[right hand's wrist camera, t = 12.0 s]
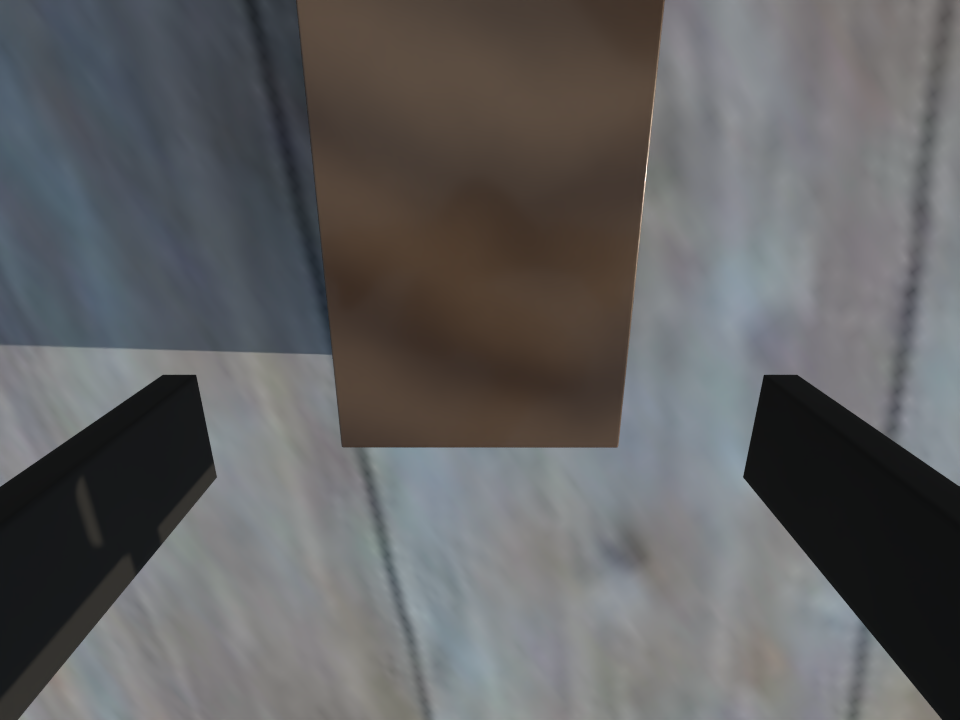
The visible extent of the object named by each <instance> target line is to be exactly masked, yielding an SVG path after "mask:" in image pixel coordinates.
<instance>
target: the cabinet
mask: <svg viewBox="0 0 960 720" xmlns="http://www.w3.org/2000/svg"><path fill="white" fill-rule="evenodd" d="M664 2H665V0H296V5H297V15H298V25H299V34H300V44H301V54H302V64H303V73H304V83H305V93H306V103H307V112H308V122H309V132H310V142H311V151H312V161H313V171H314V181H315V190H316V200H317V210H318V220H319V229H320V239H321V249H322V258H323V268H324V278H325V288H326V297H327V307H328V317H329V327H330V336H331V346H332V356H333V366H334V375H335V385H336V395H337V405H338V414H339V424H340V434H341V444H342V447H618V443H619V433H620V424H621V414H622V404H623V395H624V385H625V376H626V366H627V357H628V347H629V337H630V328H631V318H632V309H633V299H634V289H635V280H636V270H637V261H638V251H639V242H640V232H641V222H642V213H643V203H644V194H645V184H646V175H647V165H648V155H649V146H650V136H651V127H652V117H653V108H654V98H655V88H656V79H657V69H658V60H659V50H660V40H661V31H662V21H663V12H664Z"/></svg>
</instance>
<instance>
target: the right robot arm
mask: <svg viewBox="0 0 960 720" xmlns="http://www.w3.org/2000/svg"><path fill="white" fill-rule="evenodd" d="M216 478H217V476H216V471H215V466H214V461H213V456H212V451H211V446H210V441H209V436H208V431H207V426H206V422H205V417H204V412H203V407H202V402H201V397H200V392H199V387H198V382H197V377H196V375H162V376H161V377H159V378H158V379H156V380H155V381H153V382H152V383H150V384H149V385H148V386H146V387H145V388H143V389H142V390H140V391H139V392H137V393H136V394H134V395H133V396H132V397H130V398H129V399H127V400H126V401H124V402H123V403H121V404H120V405H118V406H117V407H116V408H114V409H113V410H111V411H110V412H108V413H107V414H105V415H104V416H103V417H101V418H100V419H98V420H97V421H95V422H94V423H92V424H91V425H89V426H88V427H87V428H85V429H84V430H82V431H81V432H79V433H78V434H76V435H75V436H73V437H72V438H71V439H69V440H68V441H66V442H65V443H63V444H62V445H60V446H59V447H57V448H56V449H55V450H53V451H52V452H50V453H49V454H47V455H46V456H44V457H43V458H41V459H40V460H39V461H37V462H36V463H34V464H33V465H31V466H30V467H28V468H27V469H26V470H24V471H23V472H21V473H20V474H18V475H17V476H15V477H14V478H12V479H11V480H10V481H8V482H7V483H5V484H4V485H2V486H1V487H0V720H18V719H19V718H20V716H21V715H22V714H23V713H24V711H25V710H26V709H27V708H28V707H29V705H30V704H31V703H32V702H33V700H34V699H35V698H36V697H37V696H38V694H39V693H40V692H41V691H42V690H43V688H44V687H45V686H46V685H47V683H48V682H49V681H50V680H51V679H52V677H53V676H54V675H55V674H56V672H57V671H58V670H59V669H60V668H61V666H62V665H63V664H64V663H65V662H66V660H67V659H68V658H69V657H70V655H71V654H72V653H73V652H74V651H75V649H76V648H77V647H78V646H79V644H80V643H81V642H82V641H83V640H84V638H85V637H86V636H87V635H88V633H89V632H90V631H91V630H92V629H93V627H94V626H95V625H96V624H97V623H98V621H99V620H100V619H101V618H102V616H103V615H104V614H105V613H106V612H107V610H108V609H109V608H110V607H111V605H112V604H113V603H114V602H115V601H116V599H117V598H118V597H119V596H120V595H121V593H122V592H123V591H124V590H125V588H126V587H127V586H128V585H129V584H130V582H131V581H132V580H133V579H134V577H135V576H136V575H137V574H138V573H139V571H140V570H141V569H142V568H143V566H144V565H145V564H146V563H147V562H148V560H149V559H150V558H151V557H152V556H153V554H154V553H155V552H156V551H157V549H158V548H159V547H160V546H161V545H162V543H163V542H164V541H165V540H166V538H167V537H168V536H169V535H170V534H171V532H172V531H173V530H174V529H175V528H176V526H177V525H178V524H179V523H180V521H181V520H182V519H183V518H184V517H185V515H186V514H187V513H188V512H189V510H190V509H191V508H192V507H193V506H194V504H195V503H196V502H197V501H198V500H199V498H200V497H201V496H202V495H203V493H204V492H205V491H206V490H207V489H208V487H209V486H210V485H211V484H212V482H213V481H214V480H215V479H216ZM743 478H744V479H745V480H746V481H747V482H748V484H749V485H750V486H751V487H752V489H753V490H754V491H755V492H756V493H757V495H758V496H759V497H760V498H761V500H762V501H763V502H764V503H765V504H766V506H767V507H768V508H769V509H770V510H771V512H772V513H773V514H774V515H775V517H776V518H777V519H778V520H779V521H780V523H781V524H782V525H783V526H784V528H785V529H786V530H787V531H788V532H789V534H790V535H791V536H792V537H793V538H794V540H795V541H796V542H797V543H798V545H799V546H800V547H801V548H802V549H803V551H804V552H805V553H806V554H807V556H808V557H809V558H810V559H811V560H812V562H813V563H814V564H815V565H816V566H817V568H818V569H819V570H820V571H821V573H822V574H823V575H824V576H825V577H826V579H827V580H828V581H829V582H830V584H831V585H832V586H833V587H834V588H835V590H836V591H837V592H838V593H839V595H840V596H841V597H842V598H843V599H844V601H845V602H846V603H847V604H848V605H849V607H850V608H851V609H852V610H853V612H854V613H855V614H856V615H857V616H858V618H859V619H860V620H861V621H862V623H863V624H864V625H865V626H866V627H867V629H868V630H869V631H870V632H871V633H872V635H873V636H874V637H875V638H876V640H877V641H878V642H879V643H880V644H881V646H882V647H883V648H884V649H885V651H886V652H887V653H888V654H889V655H890V657H891V658H892V659H893V660H894V662H895V663H896V664H897V665H898V666H899V668H900V669H901V670H902V671H903V672H904V674H905V675H906V676H907V677H908V679H909V680H910V681H911V682H912V683H913V685H914V686H915V687H916V688H917V690H918V691H919V692H920V693H921V694H922V696H923V697H924V698H925V699H926V700H927V702H928V703H929V704H930V705H931V707H932V708H933V709H934V710H935V711H936V713H937V714H938V715H939V716H940V718H941V719H942V720H960V486H958V485H956V484H955V483H953V482H952V481H950V480H949V479H948V478H946V477H945V476H943V475H942V474H940V473H939V472H937V471H936V470H934V469H933V468H932V467H930V466H929V465H927V464H926V463H924V462H923V461H921V460H920V459H919V458H917V457H916V456H914V455H913V454H911V453H910V452H908V451H907V450H905V449H904V448H903V447H901V446H900V445H898V444H897V443H895V442H894V441H892V440H891V439H889V438H888V437H887V436H885V435H884V434H882V433H881V432H879V431H878V430H876V429H875V428H873V427H872V426H871V425H869V424H868V423H866V422H865V421H863V420H862V419H860V418H859V417H857V416H856V415H855V414H853V413H852V412H850V411H849V410H847V409H846V408H844V407H843V406H842V405H840V404H839V403H837V402H836V401H834V400H833V399H831V398H830V397H828V396H827V395H826V394H824V393H823V392H821V391H820V390H818V389H817V388H815V387H814V386H812V385H811V384H810V383H808V382H807V381H805V380H804V379H802V378H801V377H799V376H798V375H764V377H763V382H762V387H761V392H760V397H759V402H758V407H757V412H756V417H755V422H754V426H753V431H752V436H751V441H750V446H749V451H748V456H747V461H746V466H745V471H744V476H743Z"/></svg>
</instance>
